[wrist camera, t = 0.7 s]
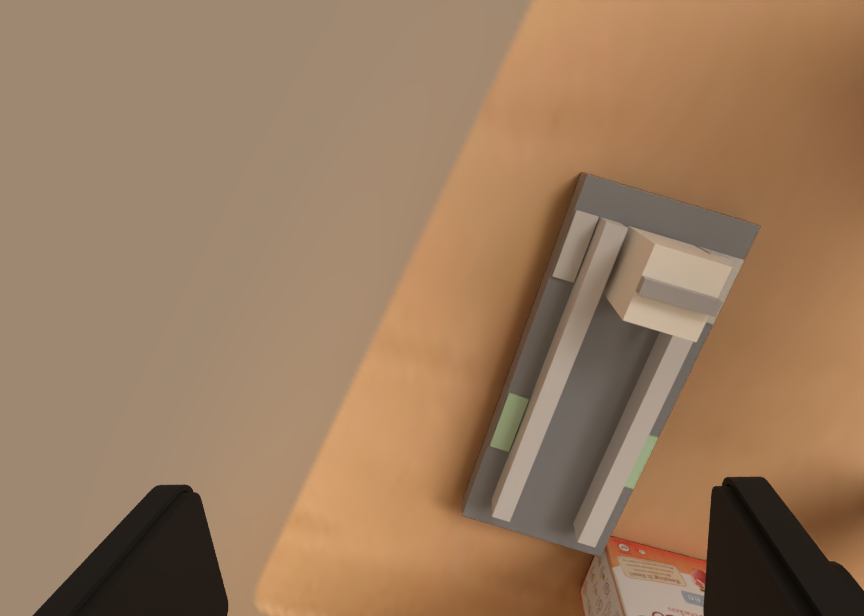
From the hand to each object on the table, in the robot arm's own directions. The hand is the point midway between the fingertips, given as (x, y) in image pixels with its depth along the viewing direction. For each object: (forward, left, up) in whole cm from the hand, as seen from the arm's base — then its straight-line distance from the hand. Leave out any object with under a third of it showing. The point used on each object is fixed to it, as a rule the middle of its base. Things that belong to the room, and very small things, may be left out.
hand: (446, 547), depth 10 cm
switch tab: (-10, -2, -23) cm, 25 cm away
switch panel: (-10, +6, -26) cm, 28 cm away
